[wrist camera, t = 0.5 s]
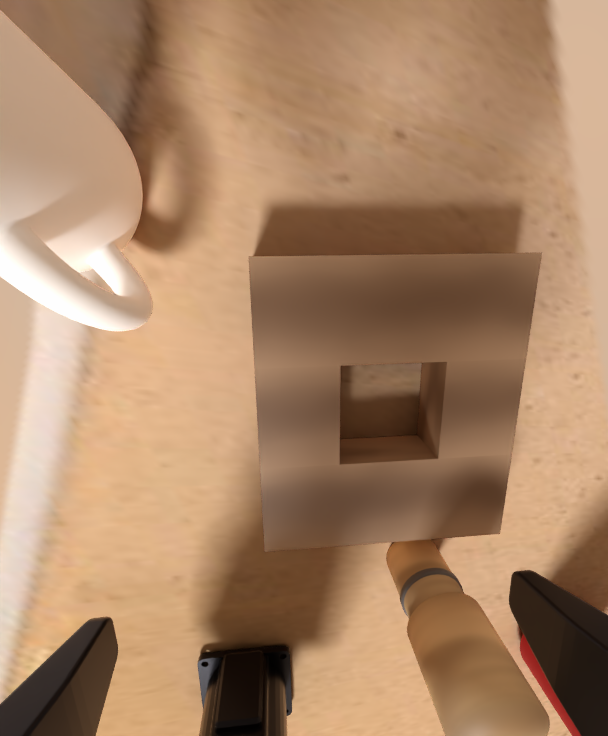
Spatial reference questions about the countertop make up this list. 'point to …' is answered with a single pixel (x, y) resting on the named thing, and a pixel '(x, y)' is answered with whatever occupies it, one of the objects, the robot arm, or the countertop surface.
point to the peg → (461, 651)
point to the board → (388, 346)
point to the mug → (65, 193)
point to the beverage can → (545, 684)
